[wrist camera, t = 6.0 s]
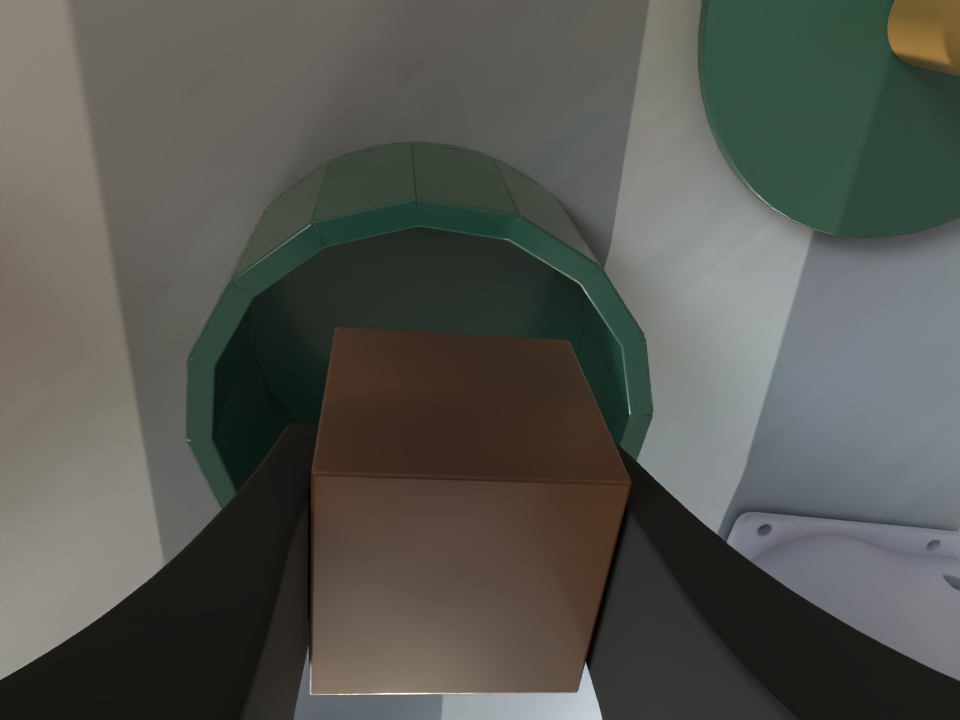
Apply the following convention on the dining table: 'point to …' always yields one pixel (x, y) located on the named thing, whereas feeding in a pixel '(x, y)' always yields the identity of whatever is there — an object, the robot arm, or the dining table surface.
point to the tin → (399, 294)
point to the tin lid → (838, 108)
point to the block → (458, 516)
